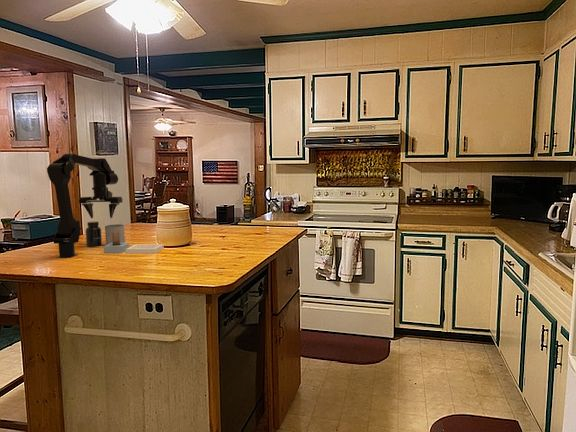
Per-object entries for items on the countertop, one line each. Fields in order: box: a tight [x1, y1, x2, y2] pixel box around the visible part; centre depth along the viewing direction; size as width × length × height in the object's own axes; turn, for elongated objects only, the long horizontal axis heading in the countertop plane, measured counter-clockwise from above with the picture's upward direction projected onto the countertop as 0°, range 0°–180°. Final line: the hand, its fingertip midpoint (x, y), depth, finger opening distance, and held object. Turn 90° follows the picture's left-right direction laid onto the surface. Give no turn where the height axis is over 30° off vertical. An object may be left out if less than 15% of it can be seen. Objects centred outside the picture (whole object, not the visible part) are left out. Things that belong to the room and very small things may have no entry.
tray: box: [125, 243, 165, 254], centre depth 194 cm, size 11×13×2 cm
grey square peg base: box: [102, 242, 130, 254], centre depth 194 cm, size 8×8×4 cm
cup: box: [104, 223, 126, 245], centre depth 208 cm, size 8×8×10 cm
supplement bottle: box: [85, 220, 103, 248], centre depth 207 cm, size 7×7×12 cm
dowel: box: [112, 231, 120, 246], centre depth 194 cm, size 3×3×9 cm
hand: (101, 218), depth 207 cm, fingers open, 9 cm apart
